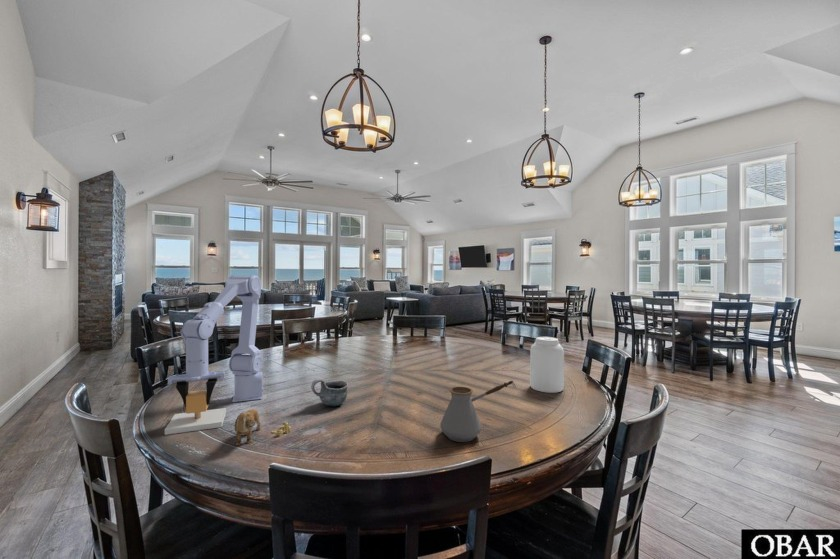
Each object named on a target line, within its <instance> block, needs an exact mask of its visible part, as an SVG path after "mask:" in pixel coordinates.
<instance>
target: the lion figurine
mask: <svg viewBox="0 0 840 559" xmlns="http://www.w3.org/2000/svg"><path fill="white" fill-rule="evenodd" d="M255 425H256V426H257V427H256V428H255V429H256V431H260V430H261V422H260V415H259V412H258V410H256V409H254V408H251V409H248V410H247V411H244V412H241V413H239V414H238V416H237V417H236V419H235V421H234V426H233V427H234V432H235V433H236V440H237V442H236V443H235V445H236V446H240V445H242V436H245V435H246V443H247V444H251V443H253V440H252V429H253V428H254V426H255Z"/></svg>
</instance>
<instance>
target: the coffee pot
mask: <svg viewBox="0 0 840 559" xmlns="http://www.w3.org/2000/svg"><path fill="white" fill-rule="evenodd" d="M509 385H512V386H513V387H514V388H516V387H517V386H516V384H515V382H514V381H513V380H510V381H508V382H504V383H503V384H500V385H497V386H495V387H493V388H490V389H489V390H487V391H485V392H484V393H481V394H479V395H477V396H474V397H472V394H473V392H474V391H473V389H472V388H470V387H467V386H453V387H450V388H449V393H451V398H450V399H449V400H450V401H449V403H448V405H447V407H446V410H445V412H444V414H443V416H442V418H441V419H442V420H440V421H441V422H440V425H439V426H440V429H441V431H442V433H443V434H444V435H445V436H447V438H448V439H449V440H451V441H454V442H459V443H465V442H471V441H473V440H474V439H475V438H476V437H477V436H478V435H480V433H481V431H482V428H483V426H482V423H481V421H480V419H479V417H478V414H477V412H476V409H475V407H474V403H473V402H475V401H477V400H479V399H481V398H484V397H485V396H488V395H491V394H493V393H496V392H499V391H501V390H502V389H504V388H507V387H508V386H509Z"/></svg>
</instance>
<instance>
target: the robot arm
mask: <svg viewBox="0 0 840 559" xmlns="http://www.w3.org/2000/svg"><path fill="white" fill-rule="evenodd" d="M224 284H225V285H224V287H223V289H222V290H221V291H220V293H219V295H217V297H216V298H215V300H214V301H210V302H206V303H205V304H204V305H203V307H202V308H201V309H200V311H198V313H196V315H195V316H194V317H193V318H192V319H188V320H186V321H185V322H184V323H183V325H182V326H181V329H180V335H181V337H182V339H183V343H184V345H185V373H182V374H175V375H170V376H168V377H167V385H173V384H176V385H175V388H176V390H177V391H178V393H179V394H180V397H181V399H182V402H183V406H184V408H186V396H187V394H188V393H189V386H190V383H191V382H201V381H206V382H205V386H206V390H207V399H206V403H207V405H208V406H209V405H210V404H211V399H212V394H213V390H214V389H215V385H216V383H217V382H218V380H225V378H226V371H225V370H224V371H223V370H222V371H209V338H210V337H212V335H213V332H214V328H215V325H216V324H217V322H219V320H220V319H221V318H222V316H223V315H224V314H225V309H224V308H225V307H226V306H228V304H229V303H231V301H232V300H233V299H234V298H235V297H236V298H237V299H239V300H240V301H241V302H242V307H241V317H240V327H239V336H238V337H239V338H238V345H237V347H235V348H234V349H233V350H232V351H231V356H230V358H229V361H228V369H229V371H231V372H232V375H234V381H233V382H234V394H233V398H232V400H231V401H232V403H237V402H245V401H255V400H262V399H263V393H264V386H263V371H260V370H261V368H262V365H263V360H262V351H261V350H260V349H259V348H258V347H257V346H255V345H256V334H257V322H258V314H259V303H260V299H261V294H262V285H263V284H262V281H261V279H260V277H259V276H257V274H253V275H237V274H236V275H234V274H232V275H230V276H228V278H227V279H226V280H225V282H224Z"/></svg>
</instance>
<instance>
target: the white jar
mask: <svg viewBox="0 0 840 559" xmlns="http://www.w3.org/2000/svg"><path fill="white" fill-rule="evenodd" d="M529 350H530V356H529V359H530V360H529V384H530V385H529V386H530V388H531V389H533V390H534V391H537V392H541V393H550V394H555V393H559V392H562V391H563V390H564V387H565V386H564V385H565V384H564V383H565V380H564V379H565V376H564V374H565V351H564V350H565V349H564V347H563V345H561V344H560V341H559V339H558V338H557V337H553V336H537V337H536V338H535V341H534V343H532V344H531V346H530V349H529Z"/></svg>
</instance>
